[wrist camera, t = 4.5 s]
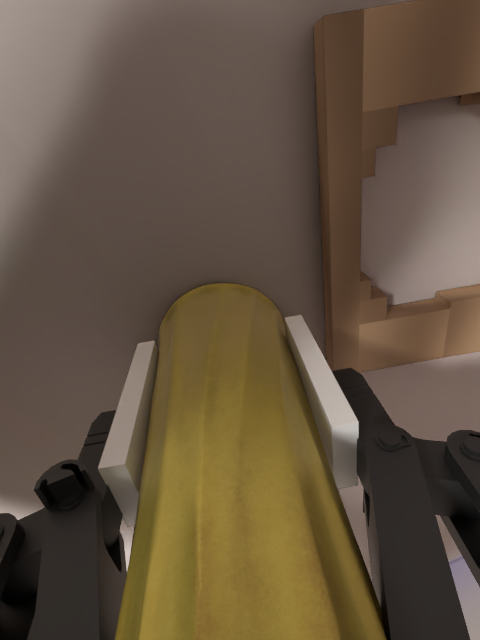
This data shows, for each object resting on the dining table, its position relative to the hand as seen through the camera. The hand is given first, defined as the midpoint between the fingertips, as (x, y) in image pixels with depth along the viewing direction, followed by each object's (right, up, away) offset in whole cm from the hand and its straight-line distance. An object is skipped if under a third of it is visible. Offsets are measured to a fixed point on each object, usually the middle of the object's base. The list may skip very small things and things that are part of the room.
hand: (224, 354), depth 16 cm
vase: (0, +1, +1) cm, 2 cm away
